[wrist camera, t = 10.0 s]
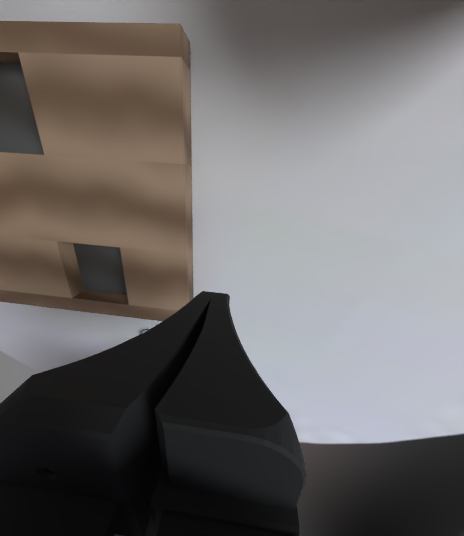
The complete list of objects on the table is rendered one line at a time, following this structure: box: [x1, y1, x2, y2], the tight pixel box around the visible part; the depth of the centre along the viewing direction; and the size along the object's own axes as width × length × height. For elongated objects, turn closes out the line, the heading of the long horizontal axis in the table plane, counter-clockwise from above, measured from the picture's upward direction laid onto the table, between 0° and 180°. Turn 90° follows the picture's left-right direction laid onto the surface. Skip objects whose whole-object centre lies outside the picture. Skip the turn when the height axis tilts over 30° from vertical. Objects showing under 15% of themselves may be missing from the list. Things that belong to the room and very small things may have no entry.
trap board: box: [0, 21, 193, 321], centre depth 19 cm, size 22×22×2 cm
